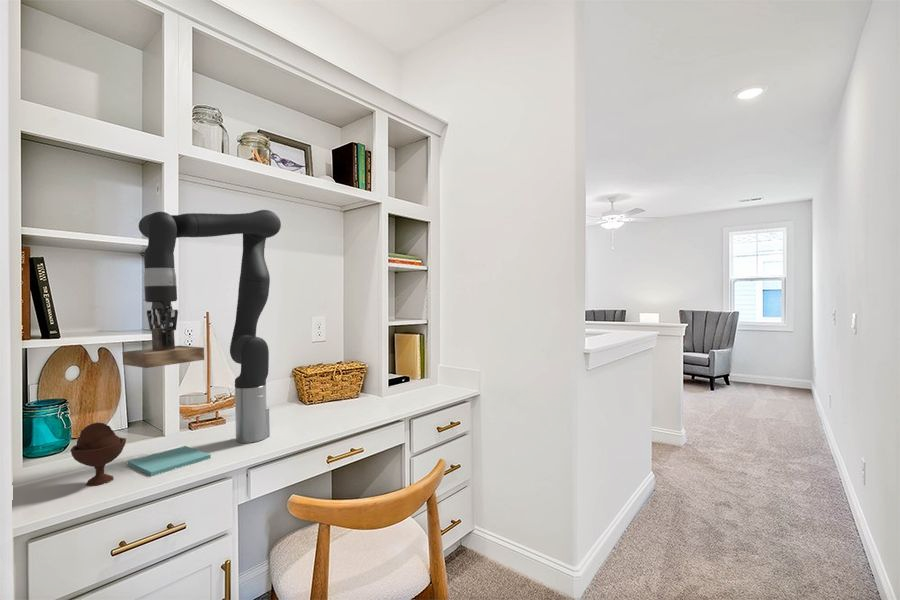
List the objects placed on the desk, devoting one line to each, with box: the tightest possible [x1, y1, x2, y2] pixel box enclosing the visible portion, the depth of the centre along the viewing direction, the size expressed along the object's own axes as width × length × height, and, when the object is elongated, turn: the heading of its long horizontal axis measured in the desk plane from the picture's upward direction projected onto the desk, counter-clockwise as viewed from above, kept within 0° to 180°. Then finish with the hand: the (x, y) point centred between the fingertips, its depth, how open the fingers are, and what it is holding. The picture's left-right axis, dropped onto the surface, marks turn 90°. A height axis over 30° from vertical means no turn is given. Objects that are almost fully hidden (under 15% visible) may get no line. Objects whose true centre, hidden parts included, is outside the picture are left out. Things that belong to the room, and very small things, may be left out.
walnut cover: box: [121, 328, 205, 369], centre depth 123 cm, size 15×15×10 cm
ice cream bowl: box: [70, 422, 127, 487], centre depth 111 cm, size 11×11×15 cm
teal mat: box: [127, 445, 211, 477], centre depth 124 cm, size 15×15×1 cm
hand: (163, 345), depth 123 cm, fingers closed on walnut cover, 4 cm apart
